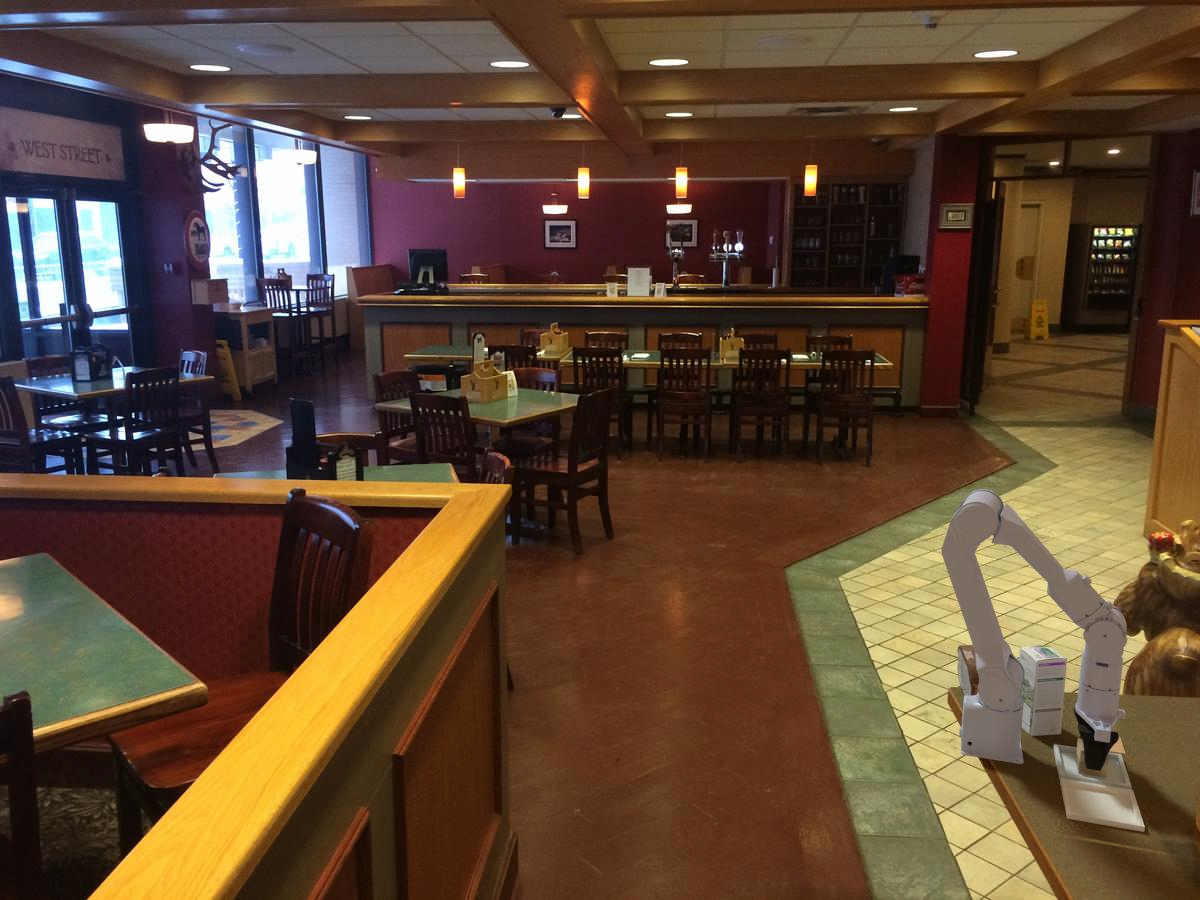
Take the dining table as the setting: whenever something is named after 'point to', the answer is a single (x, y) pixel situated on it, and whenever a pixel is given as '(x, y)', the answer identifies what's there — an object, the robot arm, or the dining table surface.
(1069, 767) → the far tray
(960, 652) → the tin
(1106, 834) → the dining table surface
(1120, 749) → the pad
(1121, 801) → the near tray
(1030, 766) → the dining table surface
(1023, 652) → the syrup box
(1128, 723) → the dining table surface
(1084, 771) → the letter cube
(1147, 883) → the dining table surface
